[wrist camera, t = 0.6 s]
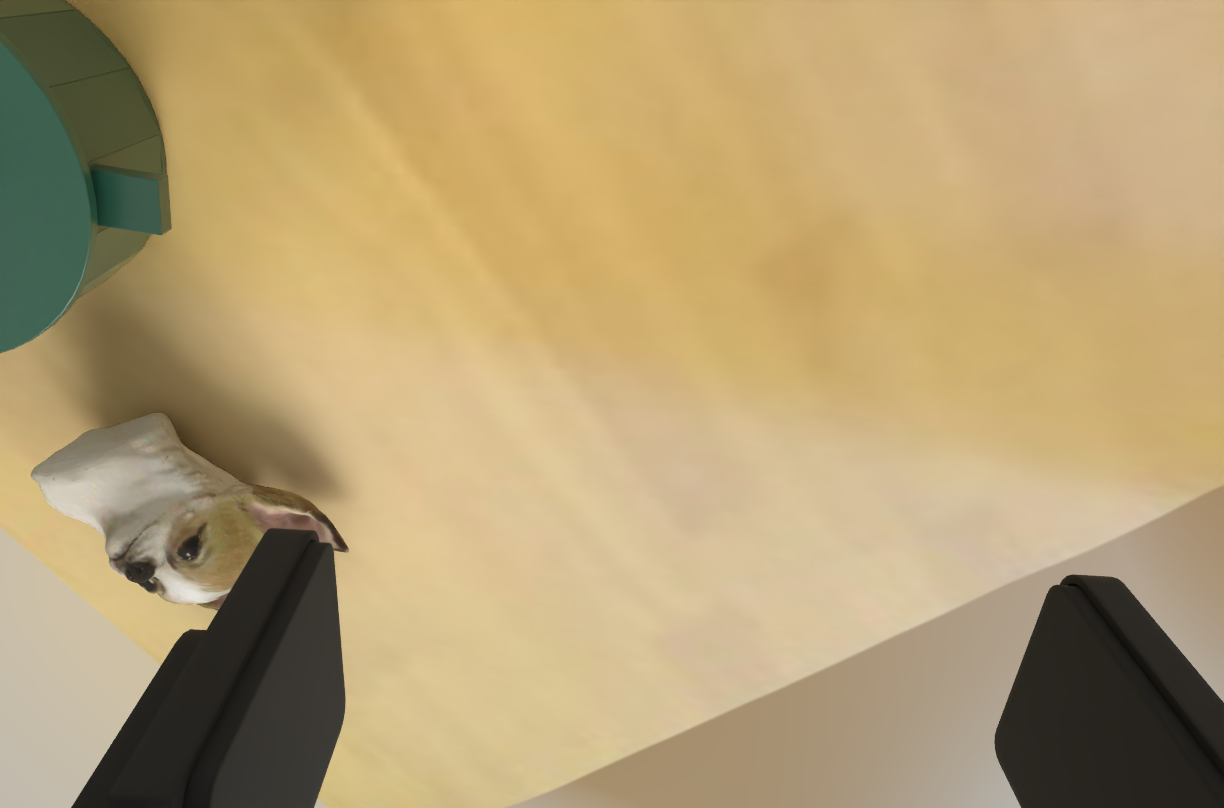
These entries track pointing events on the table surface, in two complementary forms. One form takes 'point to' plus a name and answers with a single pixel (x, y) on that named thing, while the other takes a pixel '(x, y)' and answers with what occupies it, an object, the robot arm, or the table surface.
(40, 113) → the lid
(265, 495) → the ceramic sculpture
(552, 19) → the table surface
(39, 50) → the pot
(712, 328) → the table surface
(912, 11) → the table surface
